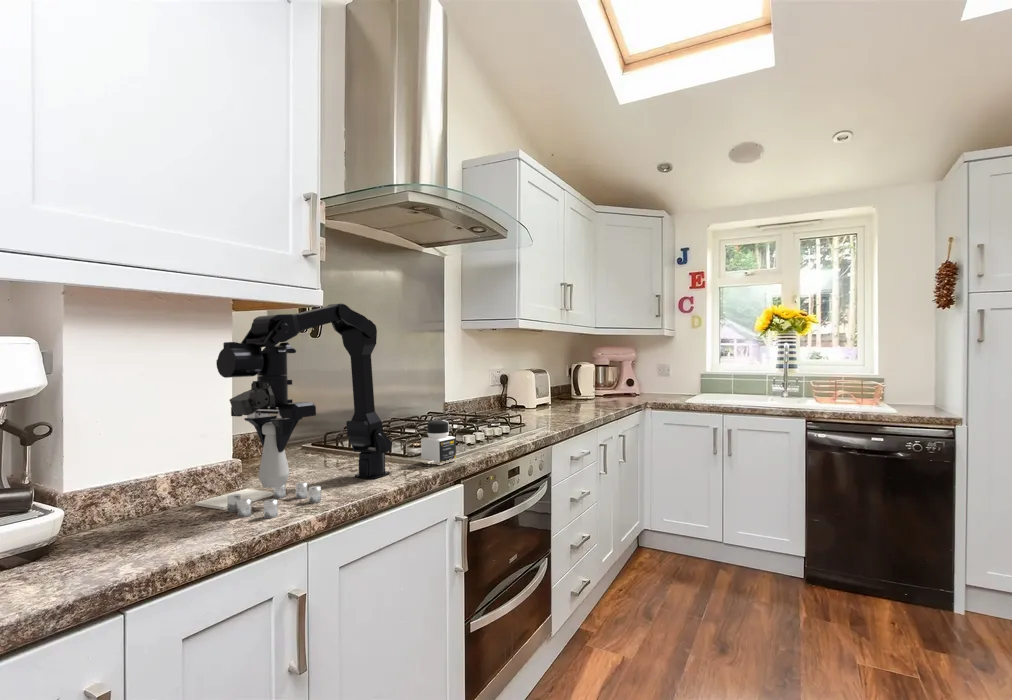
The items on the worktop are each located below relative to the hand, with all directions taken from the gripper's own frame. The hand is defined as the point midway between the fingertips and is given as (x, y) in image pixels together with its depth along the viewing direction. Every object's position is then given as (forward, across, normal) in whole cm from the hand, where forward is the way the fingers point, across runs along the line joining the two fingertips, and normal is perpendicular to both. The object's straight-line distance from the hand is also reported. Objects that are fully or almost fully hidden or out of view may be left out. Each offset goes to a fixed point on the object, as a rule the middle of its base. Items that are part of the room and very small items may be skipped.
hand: (273, 451), depth 106 cm
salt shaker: (+7, 0, 0) cm, 7 cm away
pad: (+11, -12, 0) cm, 16 cm away
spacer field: (+11, 0, 0) cm, 11 cm away
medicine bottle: (+12, +8, +49) cm, 51 cm away
